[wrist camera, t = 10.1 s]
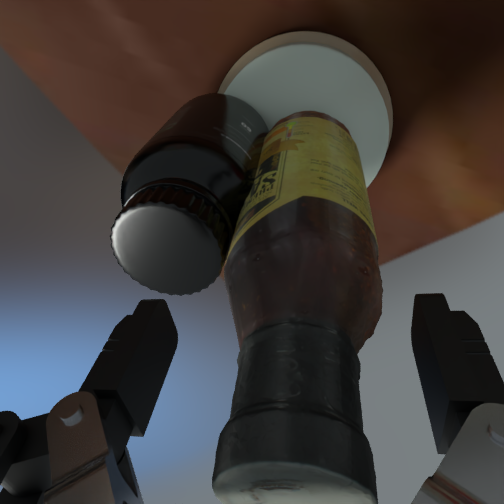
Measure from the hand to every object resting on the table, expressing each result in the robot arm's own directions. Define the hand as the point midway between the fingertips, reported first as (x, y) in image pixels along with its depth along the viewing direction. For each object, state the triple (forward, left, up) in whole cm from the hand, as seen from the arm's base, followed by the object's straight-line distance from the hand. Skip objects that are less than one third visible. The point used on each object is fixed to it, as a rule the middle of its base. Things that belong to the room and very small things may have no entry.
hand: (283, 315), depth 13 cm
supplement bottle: (+5, 0, -15) cm, 16 cm away
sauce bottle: (0, +1, -15) cm, 15 cm away
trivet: (0, 0, -18) cm, 18 cm away
